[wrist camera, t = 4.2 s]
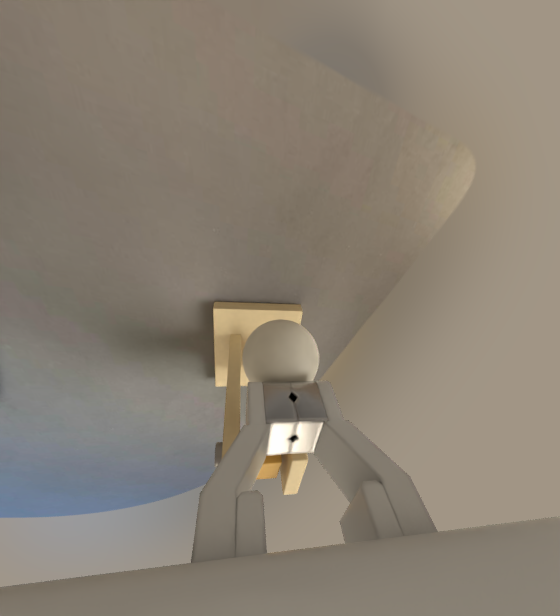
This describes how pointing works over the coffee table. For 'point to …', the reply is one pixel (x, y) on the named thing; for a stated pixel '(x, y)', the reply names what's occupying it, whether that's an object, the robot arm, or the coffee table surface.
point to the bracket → (230, 372)
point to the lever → (279, 364)
